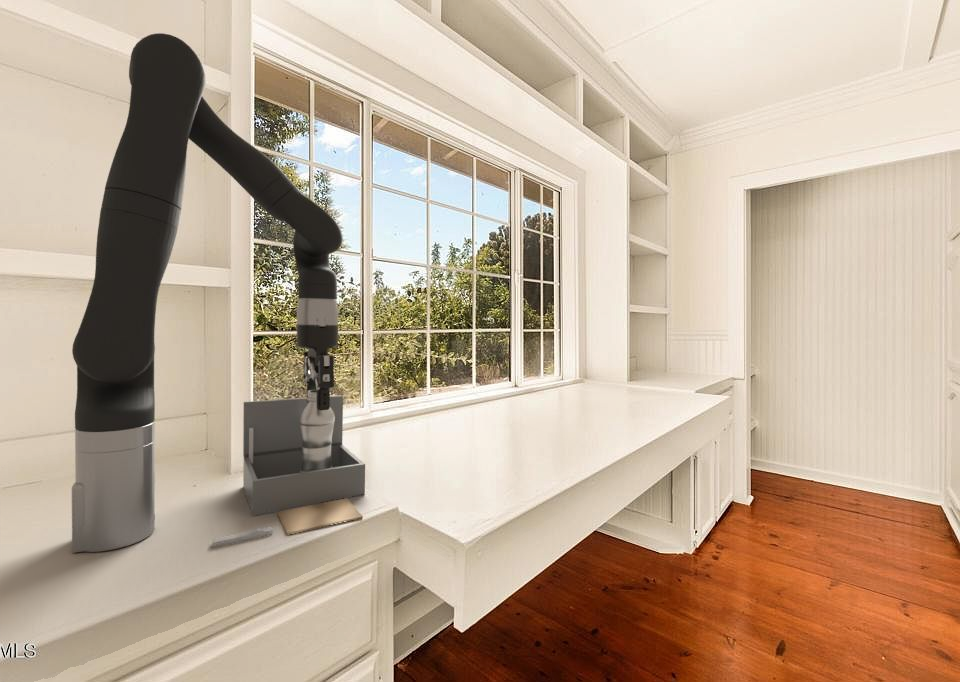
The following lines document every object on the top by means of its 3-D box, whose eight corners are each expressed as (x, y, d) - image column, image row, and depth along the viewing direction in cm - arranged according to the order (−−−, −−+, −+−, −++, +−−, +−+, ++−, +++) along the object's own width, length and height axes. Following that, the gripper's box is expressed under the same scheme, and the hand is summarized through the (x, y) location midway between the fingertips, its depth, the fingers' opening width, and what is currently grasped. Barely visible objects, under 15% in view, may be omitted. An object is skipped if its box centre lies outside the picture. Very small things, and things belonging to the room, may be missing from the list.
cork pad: (287, 535, 69) (287, 532, 69) (277, 513, 77) (277, 511, 77) (362, 518, 76) (362, 516, 76) (347, 500, 83) (347, 498, 83)
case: (252, 516, 75) (253, 417, 75) (243, 485, 89) (243, 401, 89) (364, 494, 86) (366, 408, 86) (340, 470, 100) (342, 395, 99)
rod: (212, 550, 65) (212, 542, 65) (211, 547, 66) (211, 539, 66) (271, 537, 69) (272, 529, 69) (270, 534, 70) (270, 526, 70)
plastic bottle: (290, 494, 85) (291, 391, 85) (318, 483, 91) (319, 387, 91) (314, 501, 82) (315, 394, 82) (341, 489, 88) (342, 390, 88)
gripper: (290, 322, 89) (290, 401, 90) (305, 323, 77) (305, 414, 78) (328, 322, 93) (327, 398, 94) (348, 323, 82) (347, 410, 82)
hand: (317, 405), depth 86 cm, fingers open, 8 cm apart
